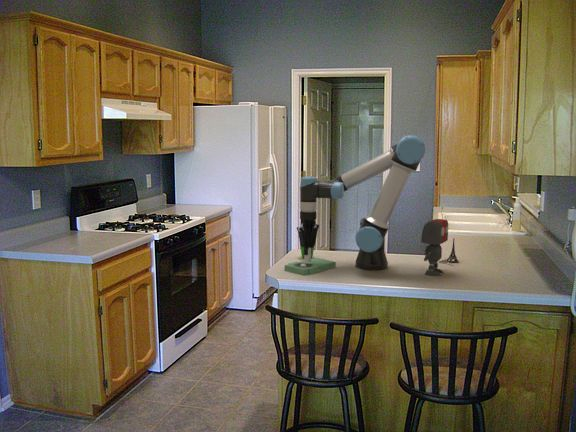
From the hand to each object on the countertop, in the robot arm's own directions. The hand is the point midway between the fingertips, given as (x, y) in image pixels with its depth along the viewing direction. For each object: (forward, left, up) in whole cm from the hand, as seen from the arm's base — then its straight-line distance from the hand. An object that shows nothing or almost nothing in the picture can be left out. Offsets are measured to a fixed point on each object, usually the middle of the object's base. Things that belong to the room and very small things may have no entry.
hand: (307, 261), depth 260 cm
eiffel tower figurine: (-39, -63, -5) cm, 74 cm away
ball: (0, +3, -2) cm, 4 cm away
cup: (+16, -17, -4) cm, 24 cm away
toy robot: (-44, -36, -4) cm, 57 cm away
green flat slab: (0, -2, -4) cm, 4 cm away
